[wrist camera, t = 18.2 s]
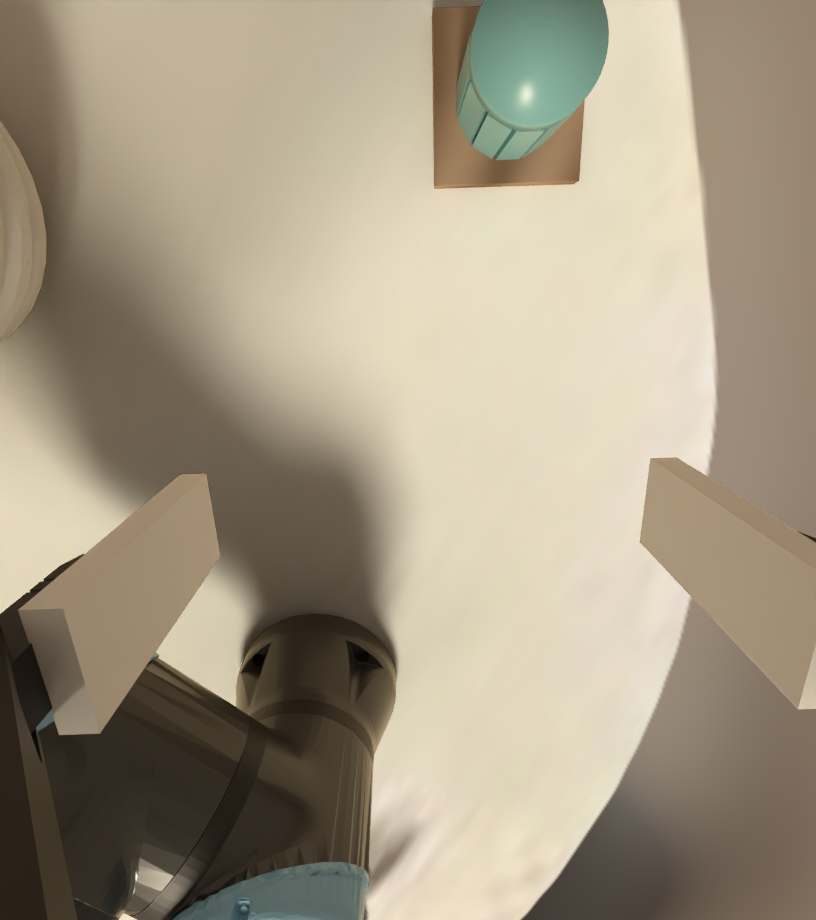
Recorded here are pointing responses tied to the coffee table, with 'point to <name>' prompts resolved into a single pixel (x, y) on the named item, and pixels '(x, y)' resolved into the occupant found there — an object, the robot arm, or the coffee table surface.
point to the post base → (456, 154)
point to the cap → (528, 71)
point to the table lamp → (18, 238)
